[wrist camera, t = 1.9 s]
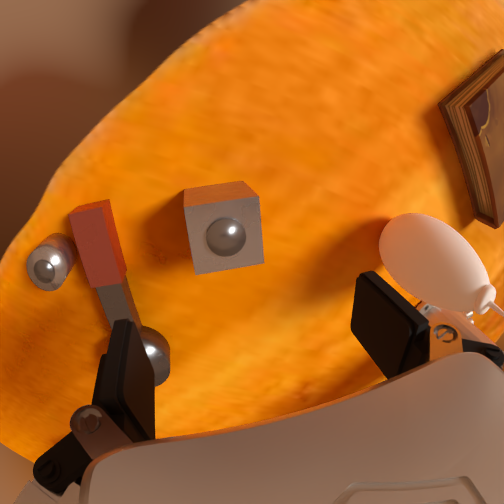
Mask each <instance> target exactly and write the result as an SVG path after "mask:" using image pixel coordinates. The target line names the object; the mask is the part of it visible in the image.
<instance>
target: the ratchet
mask: <svg viewBox="0 0 504 504" xmlns="http://www.w3.org/2000/svg"><path fill="white" fill-rule="evenodd" d="M68 216H69V219H70V223H71V227H72V231H73V234H74V238H75V241H76V245H77V248H78V251H79V254H80V258H81V261H82V264H83V267H84V270H85V273H86V276H87V279H88V281H89V284H90V287H91V288H94V287H96V290H97V293H98V296H99V298H100V301H101V304H102V306H103V309H104V311H105V314H106V316H107V319H108V321H109V324H110V326H111V329H113V324H114V321H115V320H120V319H127V318H128V319H129V320H130V322H132V321H134V322H135V324H136V327H137V329H138V332H139V335H140V337H141V340H142V342H143V345H144V347H145V350H146V352H147V355H148V357H149V359H150V362H151V364H152V366H153V369H154V374H155V387H156V386H158V385H160V384H162V383H163V382H165V381H166V379H167V378H168V376H169V374H170V347H169V344H168V342H167V340H166V339H165V338H164V337H163V336H162V335H161V334H160V333H159V332H157V331H156V330H154V329H152V328H149V327H146V326H142V324H141V321H140V318H139V315H138V312H137V310H136V307H135V304H134V301H133V298H132V294H131V291H130V288H129V285H128V282H127V278H126V275H125V274H126V271H127V268H126V265H125V261H124V258H123V254H122V250H121V247H120V243H119V239H118V235H117V231H116V227H115V223H114V218H113V214H112V210H111V205H110V200H109V199H107V200H103V201H98V202H94V203H90V204H85V205H81V206H78V207H77V208H75V209H74V210H73V211H72V212H71V213H70V214H68Z"/></svg>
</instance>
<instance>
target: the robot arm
mask: <svg viewBox="0 0 504 504" xmlns="http://www.w3.org/2000/svg"><path fill="white" fill-rule="evenodd" d="M472 316H473V312H472V311H470V312H457V311H450V310H446V309H442V308H438V307H435V306H433V305H430V304H428V303H426V302H424V301H422V302H421V303H420V304H419V305H418V306H417V307H416V308H415V307H414V306H412V305H411V304H410V303H409V302H408V301H407V300H406V299H405V298H404V297H403V296H401V295H400V294H399V293H398V292H397V291H396V290H395V289H394V288H393V287H391V286H390V285H389V284H388V283H387V282H386V281H385V280H383V279H382V278H381V277H380V276H379V275H378V274H377V273H375V272H374V271H368V272H364V273H361V274H360V275H359V277H358V278H357V279H356V287H355V295H354V303H353V311H352V318H351V331H352V333H353V334H354V335H355V337H356V338H357V339H358V341H359V342H360V343H361V345H362V346H363V347H364V349H365V350H366V351H367V353H368V354H369V355H370V356H371V358H372V359H373V360H374V362H375V363H376V364H377V366H378V367H379V368H380V370H381V371H382V372H383V374H384V375H385V376H386V378H387V379H388V380H386V381H383V382H381V383H378V384H376V385H373V386H371V387H368V388H366V389H363V390H360V391H358V392H355V393H352V394H350V395H347V396H344V397H341V398H338V399H335V400H332V401H330V402H326V403H323V404H320V405H317V406H314V407H311V408H307V409H304V410H301V411H297V412H294V413H290V414H286V415H283V416H279V417H275V418H271V419H267V420H263V421H259V422H254V423H250V424H245V425H241V426H236V427H231V428H226V429H220V430H214V431H208V432H203V433H197V434H190V435H183V436H176V437H168V438H161V439H155V374H154V369H153V366H152V364H151V362H150V359H149V357H148V355H147V352H146V350H145V347H144V345H143V342H142V340H141V337H140V335H139V332H138V329H137V327H136V324H135V322H134V321H132V322H130V320H129V319H128V318H127V319H120V320H115V321H114V324H113V329H112V333H111V337H110V342H109V346H108V351H107V354H103V355H102V356H101V359H100V364H99V368H98V373H97V378H96V383H95V388H94V393H93V399H92V405H86V406H82V407H80V408H79V409H77V410H76V411H75V412H74V413H73V415H72V417H71V420H70V428H71V430H72V432H70V433H69V434H68V435H67V436H65V437H64V438H63V439H62V440H60V441H59V442H58V443H57V444H55V445H54V446H53V447H52V448H50V449H49V450H48V451H47V452H45V453H44V454H43V455H42V456H40V457H39V458H38V459H37V460H36V462H35V464H34V467H33V475H34V480H33V481H32V482H31V481H28V483H27V484H26V485H25V487H24V489H23V490H22V491H21V493H20V494H19V496H18V498H17V499H16V501H15V502H14V504H504V352H503V351H502V350H501V349H500V348H499V347H498V346H497V345H496V344H495V343H493V342H492V341H491V340H490V339H489V338H488V337H487V336H486V335H485V334H484V333H482V332H481V331H480V330H479V329H478V328H477V327H476V326H475V325H473V320H472V318H470V317H472Z"/></svg>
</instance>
